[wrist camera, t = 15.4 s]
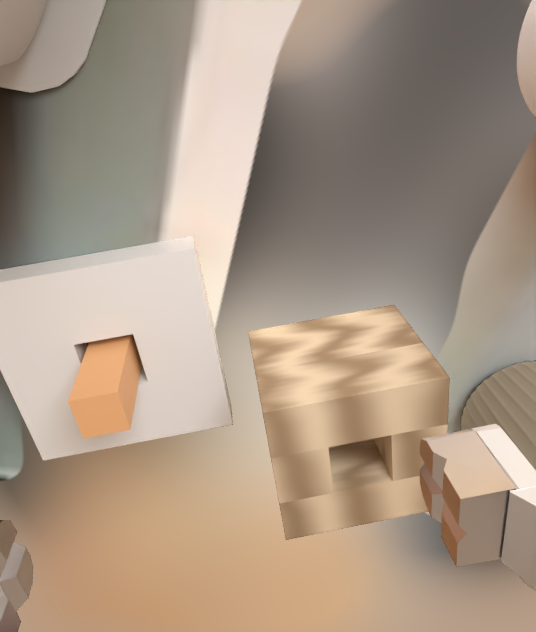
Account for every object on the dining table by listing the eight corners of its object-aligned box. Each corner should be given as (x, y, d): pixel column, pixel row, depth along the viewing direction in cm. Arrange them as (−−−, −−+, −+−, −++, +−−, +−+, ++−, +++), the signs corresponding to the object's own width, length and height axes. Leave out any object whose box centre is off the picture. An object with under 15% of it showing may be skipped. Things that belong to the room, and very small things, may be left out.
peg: (132, 325, 46) (117, 392, 37) (142, 358, 48) (130, 429, 39) (92, 333, 46) (67, 401, 37) (104, 365, 48) (83, 438, 39)
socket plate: (193, 235, 43) (193, 248, 40) (231, 405, 51) (232, 424, 49) (-24, 273, 42) (-39, 289, 39) (51, 438, 51) (43, 460, 48)
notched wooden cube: (394, 304, 48) (449, 377, 38) (396, 419, 55) (444, 508, 44) (248, 331, 48) (262, 412, 37) (268, 444, 54) (285, 539, 44)
